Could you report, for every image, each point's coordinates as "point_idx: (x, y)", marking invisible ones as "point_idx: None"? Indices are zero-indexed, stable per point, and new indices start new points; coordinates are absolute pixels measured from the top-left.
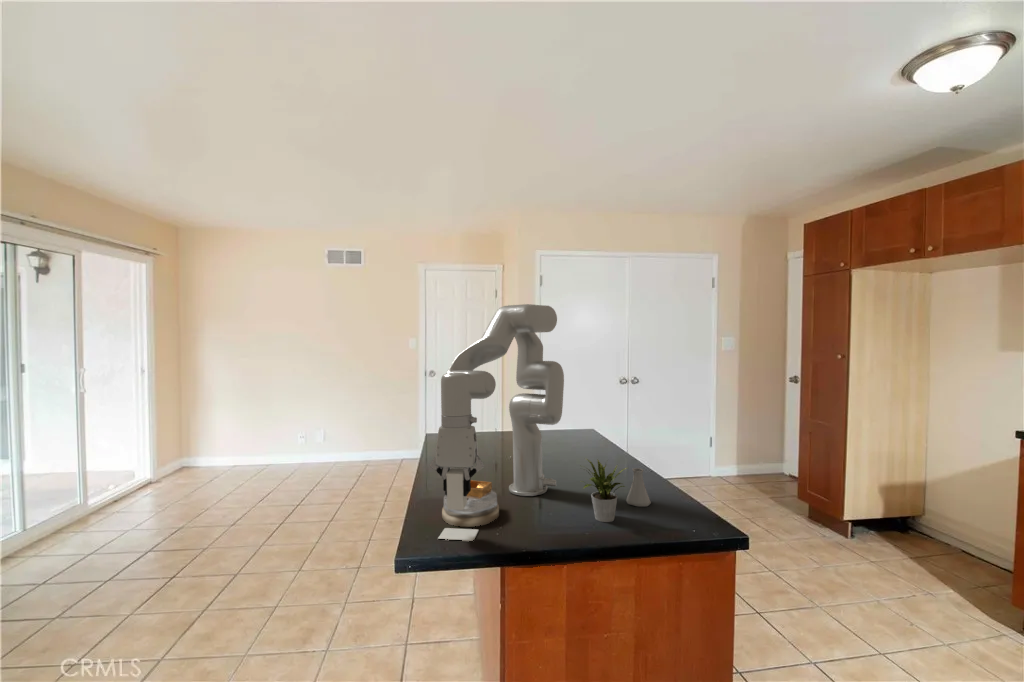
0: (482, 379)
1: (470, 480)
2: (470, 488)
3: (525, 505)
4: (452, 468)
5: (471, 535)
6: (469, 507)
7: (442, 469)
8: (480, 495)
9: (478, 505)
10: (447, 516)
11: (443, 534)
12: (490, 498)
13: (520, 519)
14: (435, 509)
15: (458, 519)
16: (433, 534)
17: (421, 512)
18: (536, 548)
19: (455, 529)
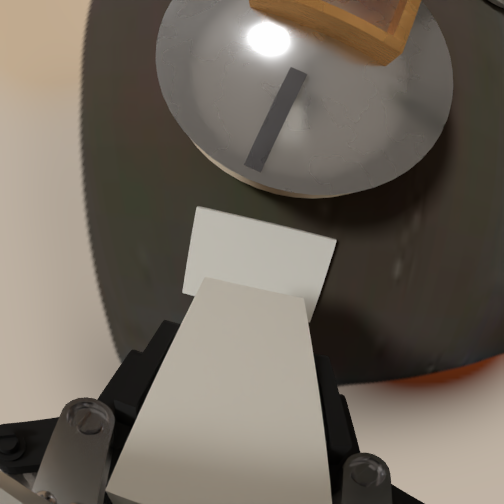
0: None
1: (356, 450)
2: (342, 404)
3: (490, 55)
4: (132, 501)
5: (306, 288)
6: (313, 193)
7: (35, 463)
8: (377, 58)
9: (365, 189)
10: (196, 146)
11: (198, 266)
12: (427, 102)
13: (479, 165)
14: (150, 15)
15: (251, 184)
16: (161, 243)
17: (101, 46)
18: (457, 360)
19: (241, 226)
